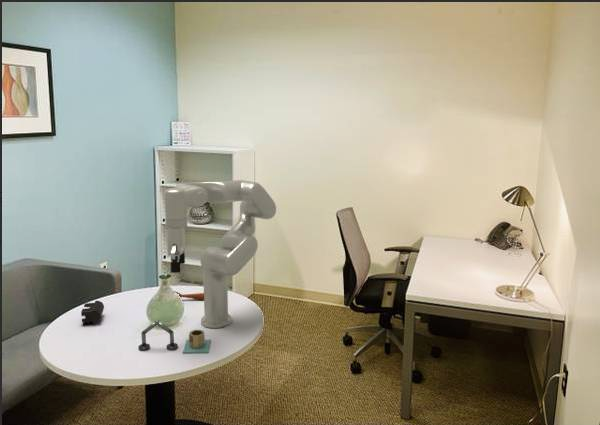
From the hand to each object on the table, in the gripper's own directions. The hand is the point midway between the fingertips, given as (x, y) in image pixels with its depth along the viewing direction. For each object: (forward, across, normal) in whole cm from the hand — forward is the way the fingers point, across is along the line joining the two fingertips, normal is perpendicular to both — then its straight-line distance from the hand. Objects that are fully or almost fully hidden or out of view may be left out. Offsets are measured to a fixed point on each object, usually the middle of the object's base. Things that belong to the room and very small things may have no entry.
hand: (178, 267), depth 175 cm
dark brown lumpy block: (+29, -17, -38) cm, 51 cm away
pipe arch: (+28, +7, -7) cm, 30 cm away
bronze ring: (+28, +7, +7) cm, 29 cm away
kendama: (+29, -36, -5) cm, 47 cm away
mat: (+28, +7, +7) cm, 30 cm away
